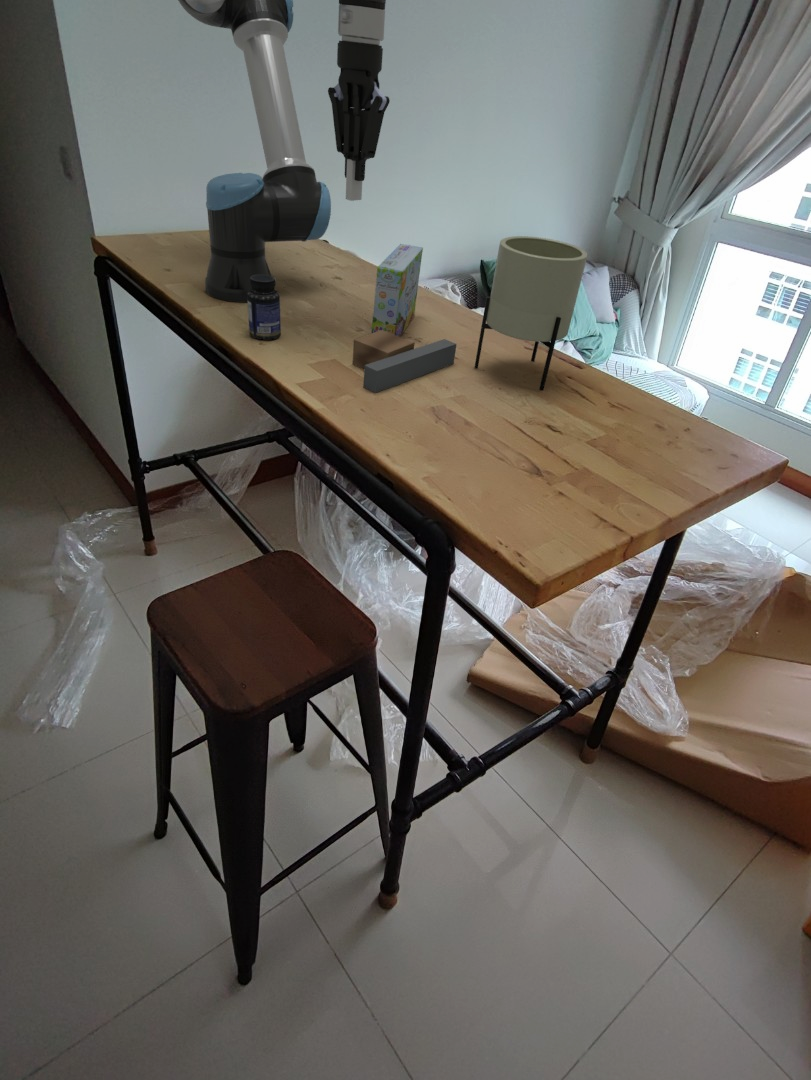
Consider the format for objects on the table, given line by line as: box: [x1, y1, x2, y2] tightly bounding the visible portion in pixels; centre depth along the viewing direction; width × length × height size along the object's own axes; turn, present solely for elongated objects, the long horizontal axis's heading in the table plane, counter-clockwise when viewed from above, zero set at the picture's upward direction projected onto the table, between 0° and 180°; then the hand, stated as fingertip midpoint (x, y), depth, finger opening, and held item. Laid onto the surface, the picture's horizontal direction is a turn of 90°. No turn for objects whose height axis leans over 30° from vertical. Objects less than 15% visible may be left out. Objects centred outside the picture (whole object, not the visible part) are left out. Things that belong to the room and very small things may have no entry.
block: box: [352, 330, 416, 370], centre depth 120 cm, size 8×8×5 cm
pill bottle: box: [247, 275, 282, 341], centre depth 124 cm, size 6×6×11 cm
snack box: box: [371, 243, 424, 338], centre depth 133 cm, size 21×6×15 cm, turn 168°
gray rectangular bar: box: [362, 338, 457, 393], centre depth 118 cm, size 3×22×4 cm, turn 138°
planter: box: [474, 235, 588, 392], centre depth 118 cm, size 15×16×23 cm
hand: (353, 199), depth 121 cm, fingers closed
